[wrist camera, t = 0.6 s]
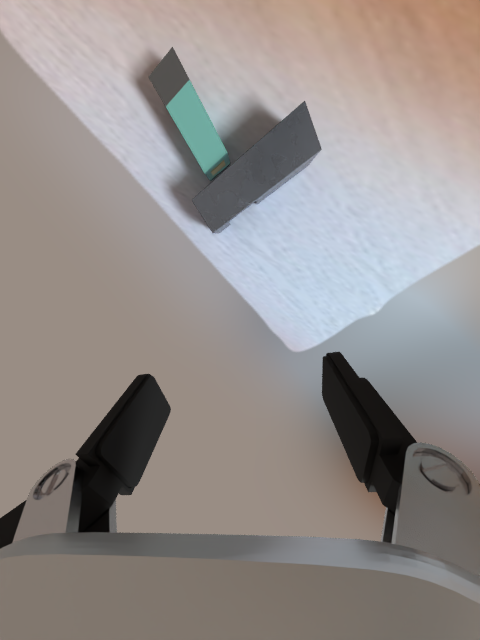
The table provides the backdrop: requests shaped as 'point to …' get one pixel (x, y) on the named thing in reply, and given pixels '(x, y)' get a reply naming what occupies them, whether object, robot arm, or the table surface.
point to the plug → (189, 114)
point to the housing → (260, 170)
